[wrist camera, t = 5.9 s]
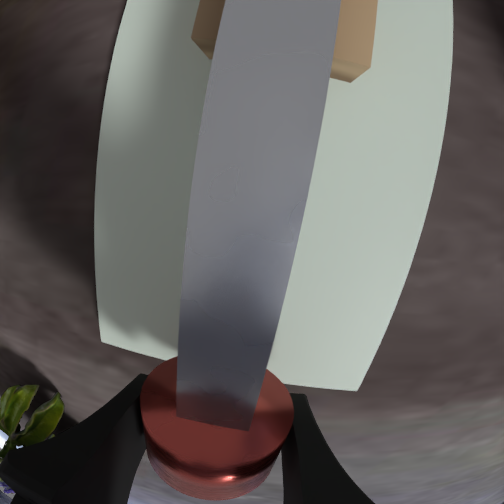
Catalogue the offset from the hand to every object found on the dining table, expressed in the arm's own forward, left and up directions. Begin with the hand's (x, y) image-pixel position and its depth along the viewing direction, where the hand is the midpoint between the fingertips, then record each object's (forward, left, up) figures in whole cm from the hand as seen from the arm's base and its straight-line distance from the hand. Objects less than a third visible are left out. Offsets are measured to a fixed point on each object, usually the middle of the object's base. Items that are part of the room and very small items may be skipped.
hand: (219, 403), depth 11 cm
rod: (0, -9, -1) cm, 9 cm away
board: (0, -13, -3) cm, 13 cm away
